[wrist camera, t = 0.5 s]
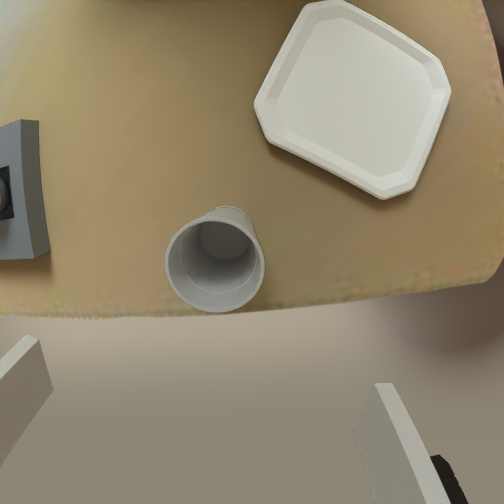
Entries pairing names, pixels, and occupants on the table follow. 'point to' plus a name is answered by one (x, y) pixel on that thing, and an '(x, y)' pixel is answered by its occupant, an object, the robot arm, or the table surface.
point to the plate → (354, 98)
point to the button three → (4, 194)
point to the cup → (216, 261)
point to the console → (22, 193)
